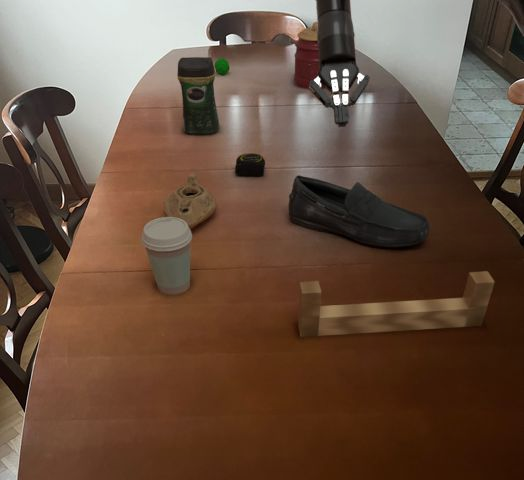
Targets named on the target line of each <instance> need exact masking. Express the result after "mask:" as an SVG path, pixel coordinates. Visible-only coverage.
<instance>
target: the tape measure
mask: <svg viewBox="0 0 524 480" xmlns="http://www.w3.org/2000/svg"><path fill="white" fill-rule="evenodd" d="M265 166H266V160H265V159H264V157H263V155H262V154H260V153H257V152H256V153H255V152H249V153H247V152H246V153H243V154H240V155H239V156H238V157H237V158H236V161H235V166H234V171H235V174H236V175H238V176H247V177H248V176H250V177H254V176H255V177H256V176H257V177H262V176H264V175H265Z"/></svg>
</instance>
